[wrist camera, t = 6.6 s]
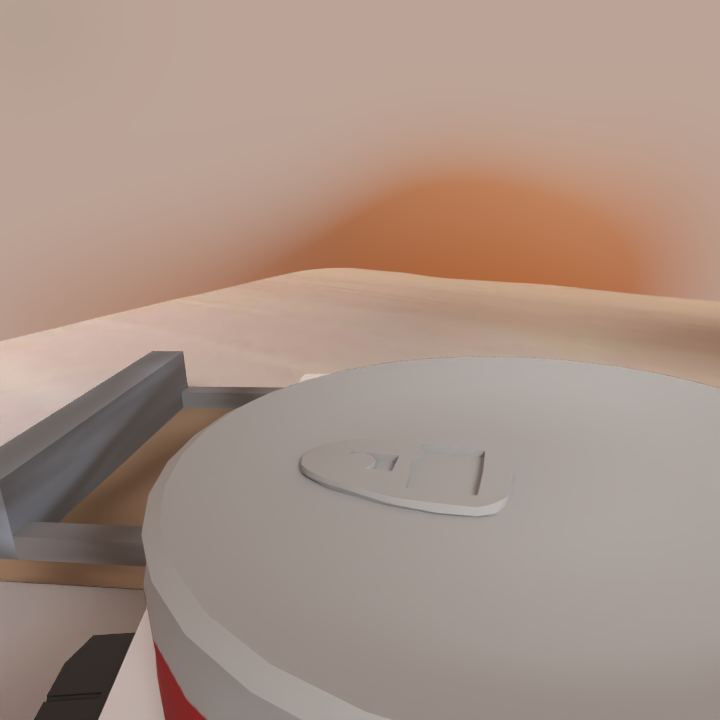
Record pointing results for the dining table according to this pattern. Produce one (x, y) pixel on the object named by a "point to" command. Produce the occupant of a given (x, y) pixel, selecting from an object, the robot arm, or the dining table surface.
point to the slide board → (100, 473)
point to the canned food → (444, 548)
